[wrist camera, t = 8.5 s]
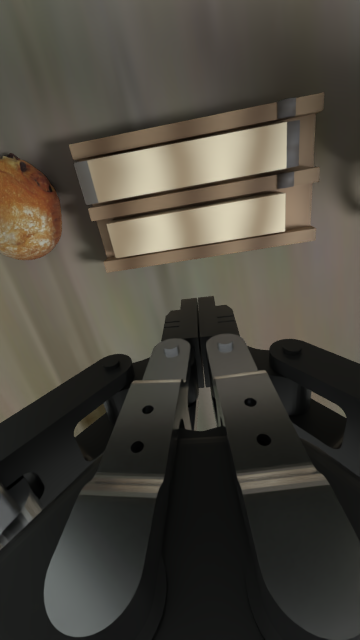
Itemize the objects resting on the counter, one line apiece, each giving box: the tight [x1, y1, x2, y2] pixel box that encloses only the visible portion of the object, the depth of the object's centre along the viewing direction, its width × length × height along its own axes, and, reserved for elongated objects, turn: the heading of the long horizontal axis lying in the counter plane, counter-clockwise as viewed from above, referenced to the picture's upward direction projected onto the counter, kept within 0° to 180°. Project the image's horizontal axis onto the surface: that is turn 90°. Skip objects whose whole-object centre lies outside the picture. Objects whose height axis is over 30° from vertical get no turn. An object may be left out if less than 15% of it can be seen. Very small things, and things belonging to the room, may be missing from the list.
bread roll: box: [0, 153, 62, 260], centre depth 29 cm, size 10×10×8 cm
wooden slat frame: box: [69, 92, 324, 273], centre depth 28 cm, size 22×12×5 cm, turn 99°
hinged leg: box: [74, 120, 300, 205], centre depth 25 cm, size 20×3×2 cm, turn 99°
